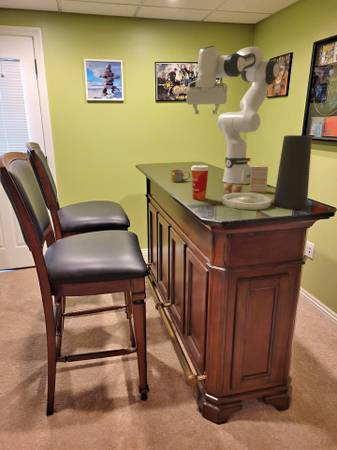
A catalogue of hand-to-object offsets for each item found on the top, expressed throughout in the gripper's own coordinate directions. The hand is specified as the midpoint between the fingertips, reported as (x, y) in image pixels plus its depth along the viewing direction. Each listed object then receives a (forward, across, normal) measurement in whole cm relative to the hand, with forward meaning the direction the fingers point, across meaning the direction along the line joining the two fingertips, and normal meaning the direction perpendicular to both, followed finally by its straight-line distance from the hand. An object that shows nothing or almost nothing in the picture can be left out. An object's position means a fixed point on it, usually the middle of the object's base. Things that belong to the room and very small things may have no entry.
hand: (205, 114), depth 165 cm
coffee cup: (+38, -7, +20) cm, 43 cm away
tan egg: (+38, -15, +4) cm, 41 cm away
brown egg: (+38, -20, +6) cm, 43 cm away
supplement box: (+38, -26, -10) cm, 47 cm away
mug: (+38, +22, -15) cm, 46 cm away
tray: (+38, -29, +18) cm, 51 cm away
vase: (+38, -46, +12) cm, 61 cm away
